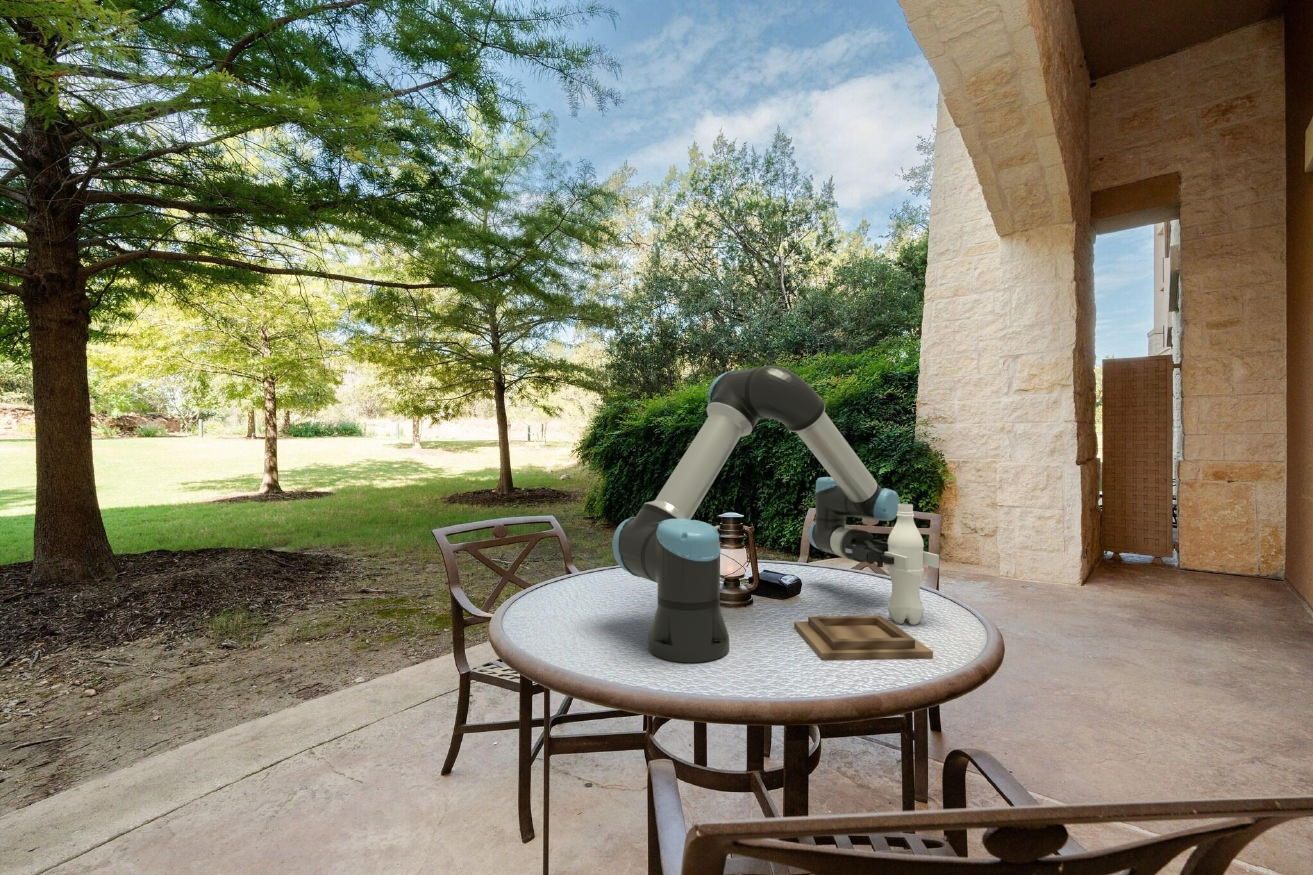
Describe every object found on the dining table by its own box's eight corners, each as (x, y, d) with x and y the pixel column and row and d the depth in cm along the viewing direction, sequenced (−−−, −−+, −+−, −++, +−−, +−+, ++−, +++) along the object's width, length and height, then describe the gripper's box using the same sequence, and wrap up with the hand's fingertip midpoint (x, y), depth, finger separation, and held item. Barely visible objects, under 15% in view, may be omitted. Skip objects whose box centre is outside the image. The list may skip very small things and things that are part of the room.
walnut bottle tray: (822, 660, 104) (822, 644, 104) (794, 627, 122) (794, 614, 122) (932, 658, 104) (932, 642, 104) (888, 626, 122) (888, 613, 122)
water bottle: (888, 624, 123) (888, 505, 123) (886, 615, 130) (886, 502, 130) (926, 628, 121) (925, 507, 121) (922, 618, 128) (921, 503, 128)
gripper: (817, 530, 140) (881, 547, 118) (887, 526, 146) (961, 542, 124) (817, 562, 140) (881, 584, 118) (888, 556, 146) (961, 577, 124)
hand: (922, 562), depth 121 cm, fingers closed on water bottle, 7 cm apart
